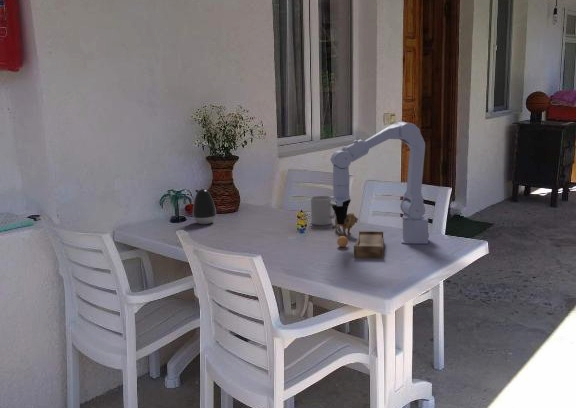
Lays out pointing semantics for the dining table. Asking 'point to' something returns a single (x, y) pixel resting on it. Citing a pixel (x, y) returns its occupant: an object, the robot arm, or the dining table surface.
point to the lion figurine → (346, 224)
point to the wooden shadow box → (369, 244)
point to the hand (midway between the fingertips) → (342, 221)
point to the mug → (321, 210)
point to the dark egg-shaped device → (204, 207)
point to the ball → (342, 241)
